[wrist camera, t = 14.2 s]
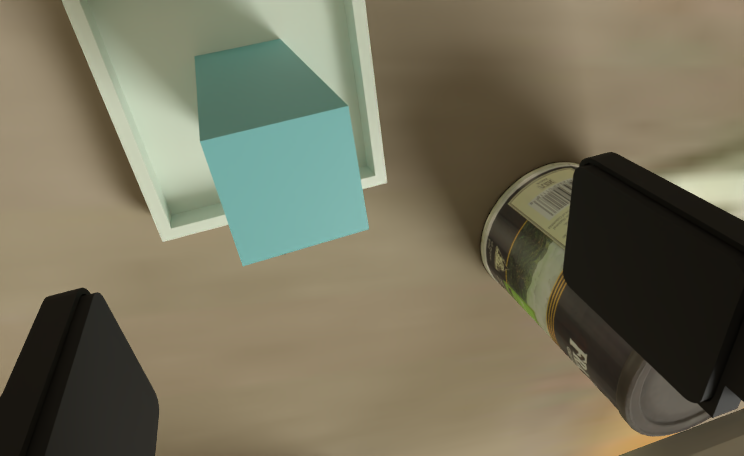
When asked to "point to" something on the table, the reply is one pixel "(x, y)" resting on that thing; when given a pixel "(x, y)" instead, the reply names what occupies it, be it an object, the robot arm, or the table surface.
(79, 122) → the table surface
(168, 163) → the tray
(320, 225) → the teal plug
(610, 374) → the coffee can
